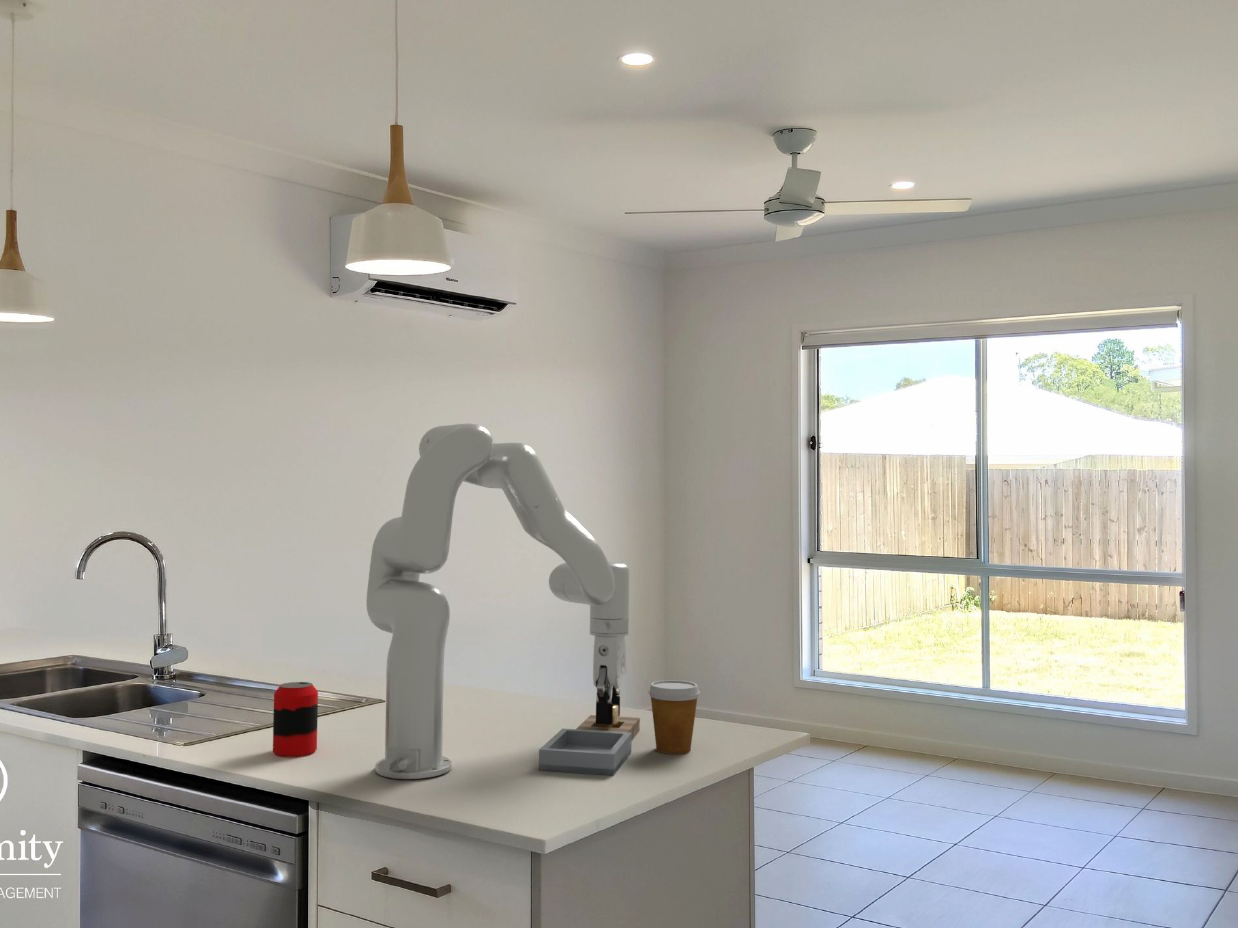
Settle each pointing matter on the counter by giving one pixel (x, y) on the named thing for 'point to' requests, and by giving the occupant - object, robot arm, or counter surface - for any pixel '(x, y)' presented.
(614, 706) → the pin
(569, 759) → the slate tray
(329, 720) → the counter surface
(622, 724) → the block
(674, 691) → the disposable coffee cup
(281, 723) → the soda can
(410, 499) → the robot arm
